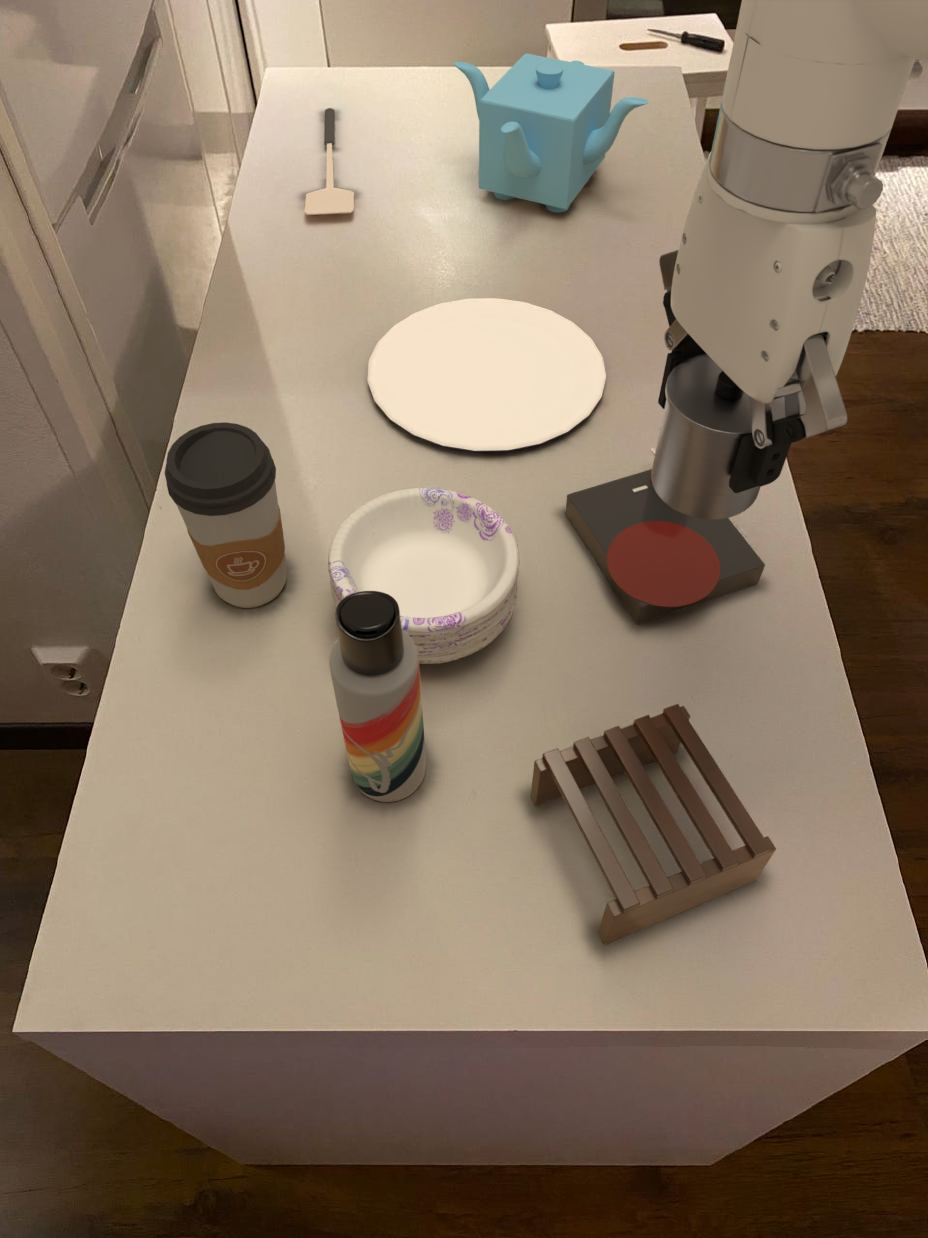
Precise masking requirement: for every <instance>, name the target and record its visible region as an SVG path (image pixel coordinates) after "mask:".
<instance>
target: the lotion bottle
mask: <svg viewBox="0 0 928 1238" xmlns="http://www.w3.org/2000/svg"><path fill="white" fill-rule="evenodd" d="M335 623H336V629H337V635H338V638H337V639H336V641H334V643H333V645H332V647H331V650H330V653H329V659H328V661H329V662H328V663H329V665H328V666H329V672H330V677H331V682H332V686H333V687H332V688H333V692H334V697H335V702H336V707H337V711H338V716H339V721H340V726H341V731H342V736H343V741H344V745H345V750H346V755H347V761H348V764H349V770H350V773H351V777H352V779H353V783H354V784H355V786H356V787H357V789H358V790H359V791H360V792H361V793H362V794H363V795H364V796H366V797H367V798H369V799H371V800H373V801H377V802H383V803H392V802H398V801H401V800H404V799H405V798H408V797H409V796H411V795H412V794H413V793H415V792H416V791H417V790H418V789H419V787H421V784H422V783H423V780H424V778H425V776H426V775H425V773H426V771H427V770H426V769H427V756H426V754H427V753H426V741H425V740H426V739H425V728H424V727H425V725H424V713H423V698H422V684H421V670H420V664H419V657H418V651H417V648H416V645H415V643H414V641H413V639H412V638H411V637H410V636H409V635H408V634H407V633H406V632H405V631H404V630H402V627H401V618H400V610H399V606H398V603H397V601H396V600H395V599H394V598H393V597H392V596H390V595H388V594H386V593H383V592H379V591H361V592H357V593H353V594H351V595H348V596H346V597H345V598H344V599H342V600H341V601H340V603H339V604H338V606H337V608H335Z"/></svg>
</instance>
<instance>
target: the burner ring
mask: <svg viewBox="0 0 928 1238" xmlns="http://www.w3.org/2000/svg"><path fill="white" fill-rule="evenodd" d="M607 566H608V570H609V572H610V575H611V576H612V578H613V580H614V581H615V583H616V584H617V585H618V586H619V587H620V588H621V589H622V590H623V591H624V592H626V593H627V594H628V595H630V596H632V597H633V598H635V599H637V600H639V601H641V602H644V603H647V604H650V605H654V606H660V607H680V606H686V605H689V604H693V603H695V602H697V601H699V600H701V599H703V598H704V597H706V596H707V595H708V594H709V593H710V592H711V591H712V590H713V589H714V587H715V586H716V584H717V582H718V579H719V575H720V563H719V559H718V556H717V554H716V552H715V550H714V549H713V547H712V546H711V545H710V544H709V542H708V541H707V540H706V539H704V538H703V537H702V536H701V535H699V534H698V533H697V532H695V531H693V530H691V529H689V528H687V527H685V526H682V525H679V524H675V523H671V522H664V521H649V522H642V523H639V524H635V525H633V526H630V527H628V528H626V529H624V530H623V531H622V532H620V533H619V534H618V535H617V536H616V537H615V538H614V539H613V541H612V542H611V544H610V546H609V549H608V552H607Z"/></svg>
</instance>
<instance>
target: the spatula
mask: <svg viewBox="0 0 928 1238" xmlns="http://www.w3.org/2000/svg"><path fill="white" fill-rule="evenodd" d="M335 111H336V110H335V109H334V108H332V107H329V108H326V109H325V110H324V131H323V132H324V134H323V135H324V136H323V137H324V138H323V139H324V140H323V144H324V146H326V167H325V168H326V171H325V177H326V178H325V179H326V180H325V187H324V188H321V189H317V190H314V191H310V192H308V193H305V200H304V202H305V203H304V211H303V212H304V214H305V215H307V216H313V215H334V214H335V215H336V214H337V215H338V214H351V213H352V212H354V211H355V192H354V191H352V190H348V189H344V188H339V187H335V183H334V182H335V181H334V162H333V161H334V160H333V158H334V157H333V146H335V143H336V142H335V134H336V133H335V132H336V130H335V129H336V128H335V127H336V126H335V123H336V121H335V120H336V119H335V113H336V112H335Z"/></svg>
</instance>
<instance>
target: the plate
mask: <svg viewBox="0 0 928 1238" xmlns="http://www.w3.org/2000/svg"><path fill="white" fill-rule="evenodd" d="M367 362H368V363H367V380H366V381H367V384H368V388H369V390H370V392H371V393H370V394H371V395H372V398H373V401H374V403H375V404H376V405H377V407H378V408H379V409H380V410H381V412H382V413H383V414H384V415H385V416H386V418H387V419H388V420H389V421H390V422H392V423H393V424H395V425H396V426H398V427H400V428H401V429H402V430H404V431H405V432H406V433H408V434H410V435H411V436H413V437H415V438H417V439H421V440H423V441H426V442H428V443H431V444H434V445H436V446H439V447H442V448H446V449H447V448H448V449H453V450H459V451H466V452H472V453H493V452H494V453H495V452H496V453H497V452H498V453H499V452H500V453H501V452H512V451H518V450H522V449H527V448H531V447H532V448H533V447H537V446H541V445H544V444H545V443H547V442H550V441H552V440H554V439H557V438H559V437H561V436H564V435H566V434H568V433H570V432H571V431H572V430H573V429H574V428H576V427H577V426H578V425H580V424H581V423H583V422H584V421H585V420H586V419H588V418H589V417H590V415H591V414H592V412H593V411H594V409H595V408H596V407H597V405H598V404H599V402H600V401H601V399H602V397H603V392H604V388H605V384H606V380H607V373H606V367H605V361H604V356H603V355H602V354H601V352H600V350H599V349H598V347H597V345H596V344H595V342H594V340H593V339H592V338H591V337H590V336H589V335H588V334H587V333H586V332H585V331H583V329H582V328H580V327H579V326H578V325H577V324H576V323H574V322H573V321H572V320H570V319H568V318H567V317H564V316H562V315H560V314H558V313H557V312H555V311H553V310H551V309H548V308H545V307H542V306H539V305H535V304H533V303H529V302H526V301H519V300H513V299H512V300H511V299H505V298H498V297H479V298H475V297H473V298H472V297H471V298H464V299H463V298H462V299H457V300H452V301H447V302H440V303H437V304H435V305H432V306H429V307H426V308H424V309H421V310H417V311H415V312H413V313H412V314H410V315H408V316H407V317H405V318H404V319H402V320H401V321H399V322H398V323H396V324H394V325H393V326H392V327H391V328H389V330H387V332H386V333H384V334H383V336H382V337H381V338H380V339H379V340H378V341H377V342H376V344H375V347H374V349H373V350H372V352H371V354H370V358H369V359H368V361H367Z"/></svg>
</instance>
